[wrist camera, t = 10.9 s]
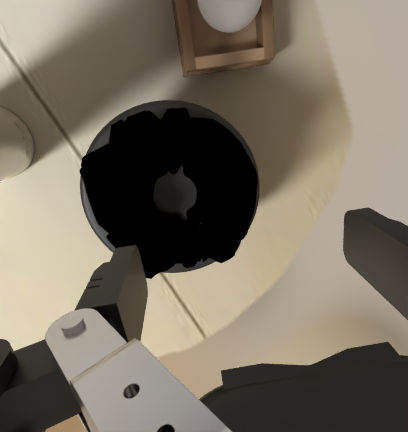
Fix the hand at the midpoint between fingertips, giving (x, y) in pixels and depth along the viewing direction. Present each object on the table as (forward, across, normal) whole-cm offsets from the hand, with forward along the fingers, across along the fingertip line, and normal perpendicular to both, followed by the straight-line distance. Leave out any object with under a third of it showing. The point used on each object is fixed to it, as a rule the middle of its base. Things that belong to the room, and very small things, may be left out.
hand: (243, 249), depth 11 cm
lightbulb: (+31, -5, -14) cm, 35 cm away
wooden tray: (+32, -5, -14) cm, 35 cm away
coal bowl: (+32, +4, +4) cm, 33 cm away
